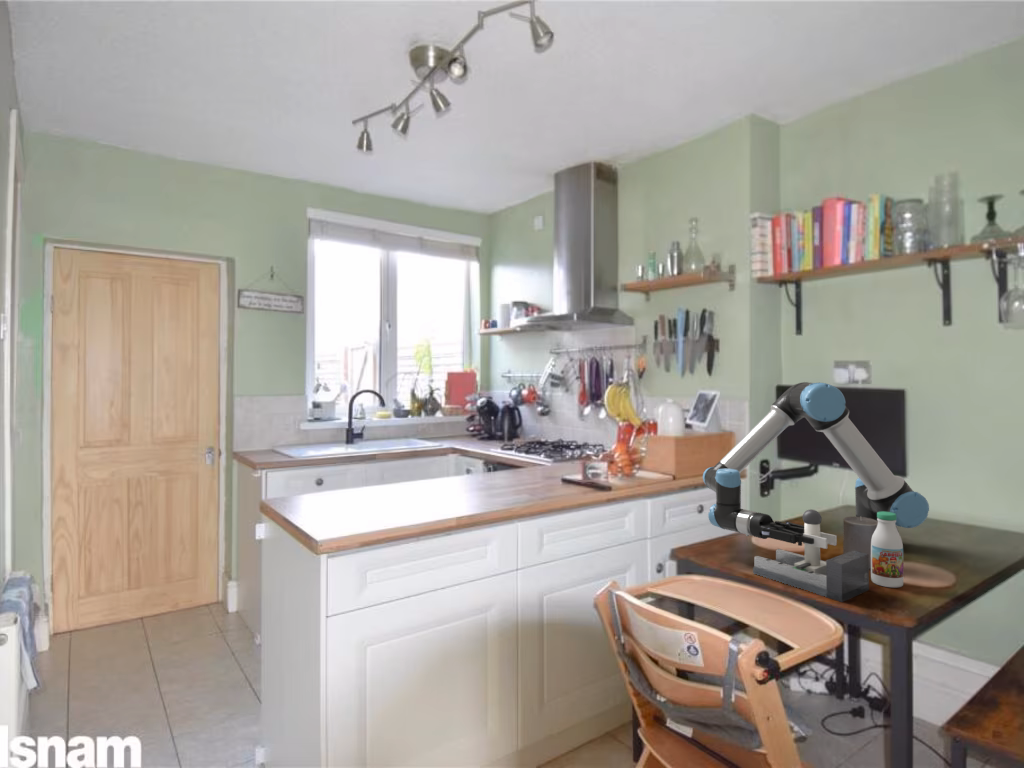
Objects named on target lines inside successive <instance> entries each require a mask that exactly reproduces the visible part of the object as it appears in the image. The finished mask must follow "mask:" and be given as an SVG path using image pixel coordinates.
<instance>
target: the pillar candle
mask: <svg viewBox="0 0 1024 768" xmlns="http://www.w3.org/2000/svg"><path fill="white" fill-rule="evenodd" d="M877 525H878V521H876V520H874V519H870V518H866V517H861V516H860V517H856V516H846V517H843V539H842V540H843V543H842V544H843V545H842V546H843V547H842V548H843V551H842V552H843V553H842V554H845V553H848V552H850V551H853V550H854V551H858V552H862V553H867V554H869V570H871V539H872V535H873V533H874V531H875V530H876V528H877Z"/></svg>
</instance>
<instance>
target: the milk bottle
mask: <svg viewBox="0 0 1024 768" xmlns="http://www.w3.org/2000/svg"><path fill="white" fill-rule="evenodd" d="M877 520H878V525H877V528H876V530H875V531H874V533H873V535H872V539H871V569H870V580H871V582H872V583H873V584H875V585H878V586H881V587H886V588H895V589H896V588H902V587H903V586H904V545H903V539H902V537H901V534H900V532H899V533H898V531H899V530H898V531H897V529H898V527H897V528H896V526H897V525H895V522H896V514H895V513H892V512H884V511H882V512H877ZM899 534H900V535H899Z"/></svg>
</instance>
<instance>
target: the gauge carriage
mask: <svg viewBox="0 0 1024 768" xmlns="http://www.w3.org/2000/svg"><path fill="white" fill-rule="evenodd" d="M822 519H823V517H822V515H821V513H820V512H819V511H817V510H816V509H811V508H810V509H808V510H807V509H806V510H805V511H804V512H803V514H802V520H803V522H804V524H803V526H804V533H805V534H810V535H814V536H818V537H820V532H821V523H822ZM803 544H804V543H803ZM803 550H804V556H805V560H803V561H800V562H797V563H794V566H796V568H797V569H806V570H809V571H814V572H816V573H819V574H823V575H826V562H823V561H824V560H822V561H820V560H821V548H820V547H816V546H812V545H808V544H804V549H803Z"/></svg>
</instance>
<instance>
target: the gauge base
mask: <svg viewBox="0 0 1024 768" xmlns="http://www.w3.org/2000/svg"><path fill="white" fill-rule="evenodd" d="M803 560H805V554H804V555H803V554H799V553H796V552H792V551H787V550H784V549H781V548H779V549H775V559H771V558H766V557H763V556H760V555H755V556H754V561H753V562H754V566H753V567H752V574H753V573H754V574H753V575H755V574H757V575H756V576H758V575H760V576H759V577H761V576H763V577H762V578H765V577H766V579H768V578H769V579H768V580H771V579H773V580H772V581H774V580H776V581H775V582H777V581H779V582H778V583H780V582H782V583H781V584H783V583H784V585H786V584H788V585H787V586H790V585H791V586H790V587H793V586H794V587H793V588H796V587H797V588H796V589H799V588H801V589H800V590H802V589H804V590H803V591H805V590H808V591H810V592H809V593H811V592H813V593H812V594H815V593H816V595H817V596H821V597H824V596H825V598H828V599H831V600H834V601H837V602H840V603H843V602H845V601H848V600H850V599H852V598H854V597H856V596H859V595H861V594H863V593H866V592H868V591H869V590H870V569H869V554H867V553H862V552H858V551H854V550H853V551H850V552H848V553H845V554H843V553H842V554H840V555H837V556H834V557H832V558H829V559H826V560H822V559H820V561H823V562H826V575H823V574H819V573H816V572H814V571H809V570H806V569H797V568H796V566H794V563H797V562H800V561H803ZM808 591H807V592H808Z"/></svg>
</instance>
